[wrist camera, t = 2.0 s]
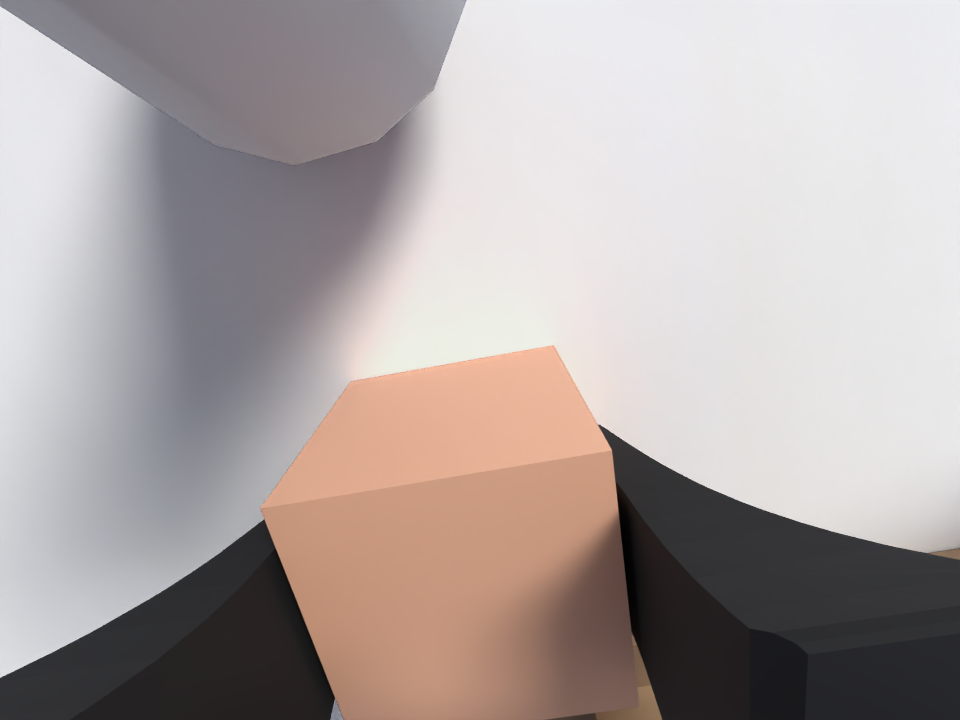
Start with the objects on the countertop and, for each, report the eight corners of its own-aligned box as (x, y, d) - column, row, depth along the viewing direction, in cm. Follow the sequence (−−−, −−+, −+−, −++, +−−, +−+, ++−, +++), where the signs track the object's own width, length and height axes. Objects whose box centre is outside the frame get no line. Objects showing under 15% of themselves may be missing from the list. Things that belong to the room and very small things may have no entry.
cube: (553, 345, 11) (612, 450, 6) (578, 518, 13) (639, 706, 8) (350, 381, 11) (259, 508, 7) (399, 546, 13) (354, 745, 8)
